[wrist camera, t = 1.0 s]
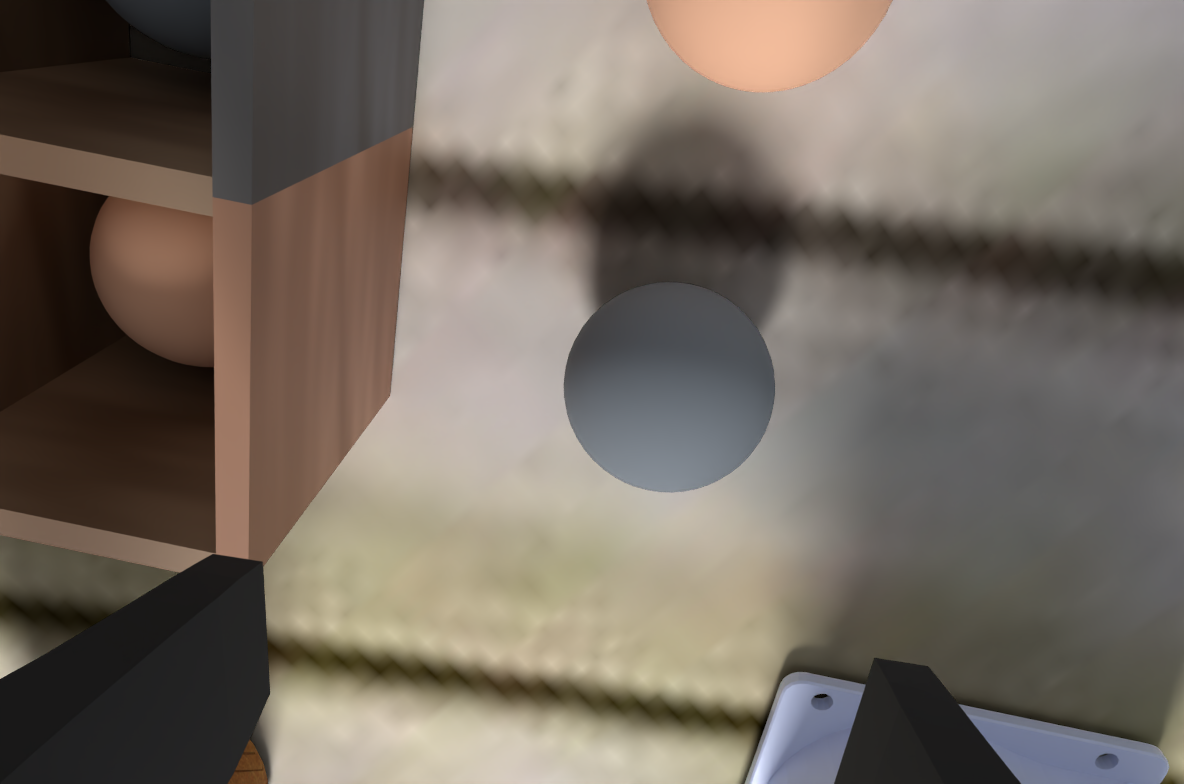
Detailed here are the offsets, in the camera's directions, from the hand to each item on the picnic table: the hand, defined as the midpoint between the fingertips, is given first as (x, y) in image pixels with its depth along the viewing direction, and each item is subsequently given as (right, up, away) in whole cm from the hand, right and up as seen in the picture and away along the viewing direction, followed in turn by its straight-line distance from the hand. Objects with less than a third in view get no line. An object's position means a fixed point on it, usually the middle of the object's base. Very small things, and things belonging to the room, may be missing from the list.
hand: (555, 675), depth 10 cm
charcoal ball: (+2, +4, +8) cm, 9 cm away
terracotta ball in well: (-7, +7, +8) cm, 12 cm away
